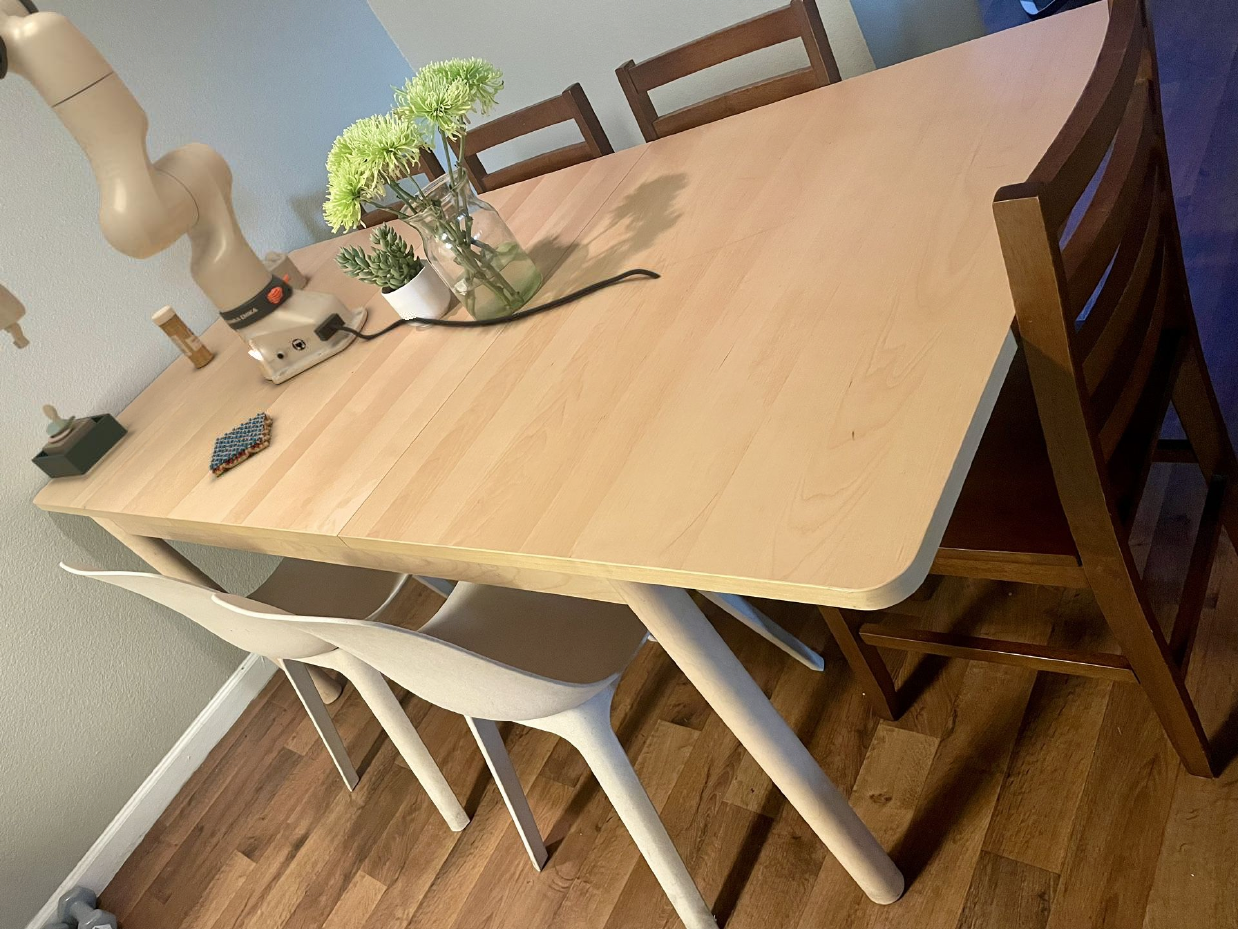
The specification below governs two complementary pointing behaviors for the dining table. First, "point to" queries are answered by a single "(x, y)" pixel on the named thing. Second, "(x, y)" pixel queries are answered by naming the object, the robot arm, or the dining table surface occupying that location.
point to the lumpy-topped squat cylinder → (284, 269)
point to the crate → (83, 449)
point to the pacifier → (57, 424)
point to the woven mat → (240, 443)
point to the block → (69, 437)
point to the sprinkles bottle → (182, 336)
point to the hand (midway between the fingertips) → (8, 355)
